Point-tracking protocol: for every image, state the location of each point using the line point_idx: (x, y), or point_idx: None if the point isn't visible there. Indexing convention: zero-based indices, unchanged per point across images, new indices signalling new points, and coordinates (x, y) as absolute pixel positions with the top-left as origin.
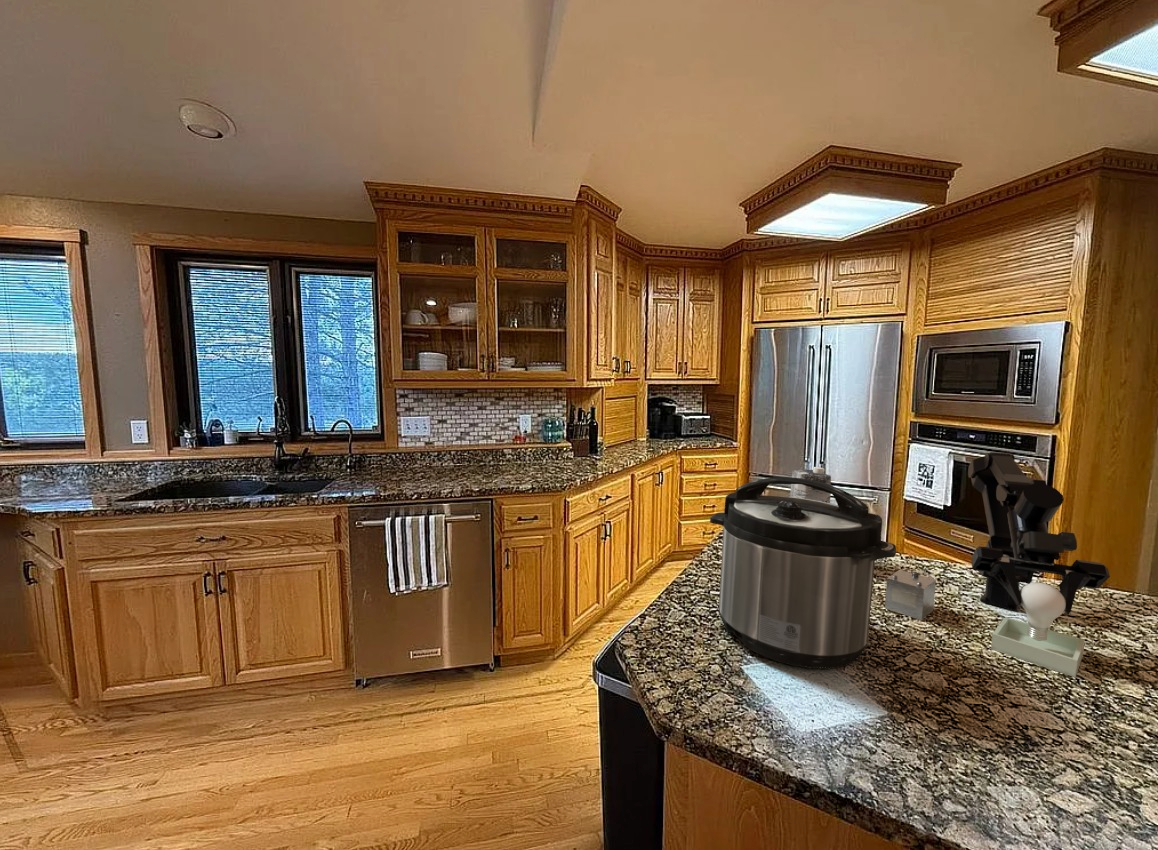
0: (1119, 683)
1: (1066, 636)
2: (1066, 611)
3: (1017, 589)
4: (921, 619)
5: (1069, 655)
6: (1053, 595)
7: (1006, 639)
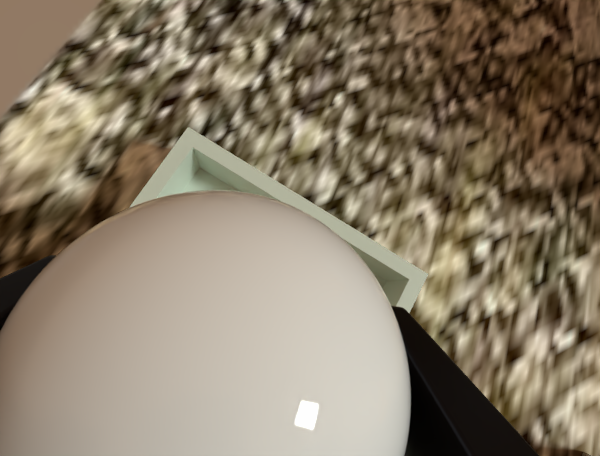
0: (55, 165)
1: None
2: None
3: (456, 405)
4: (587, 454)
5: None
6: (175, 213)
7: (383, 249)
